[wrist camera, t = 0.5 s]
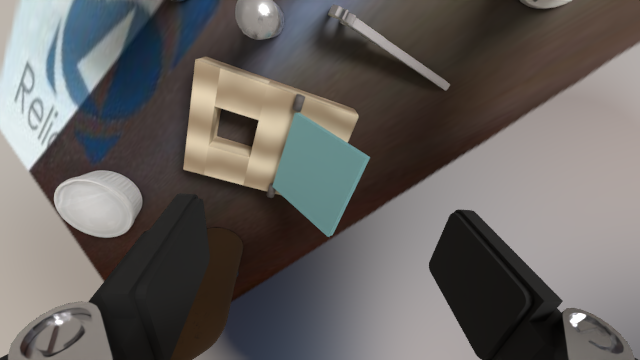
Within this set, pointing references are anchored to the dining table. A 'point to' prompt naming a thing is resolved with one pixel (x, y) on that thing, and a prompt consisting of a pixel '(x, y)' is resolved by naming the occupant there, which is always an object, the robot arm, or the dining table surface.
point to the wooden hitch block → (258, 103)
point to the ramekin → (99, 203)
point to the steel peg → (259, 18)
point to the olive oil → (211, 296)
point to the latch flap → (318, 172)
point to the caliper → (384, 44)
